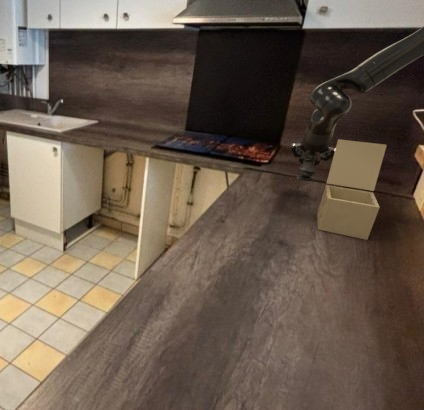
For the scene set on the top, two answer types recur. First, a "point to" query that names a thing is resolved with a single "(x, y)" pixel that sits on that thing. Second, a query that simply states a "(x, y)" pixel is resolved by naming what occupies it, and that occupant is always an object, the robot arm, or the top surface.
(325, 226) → the tan open box
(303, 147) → the robot arm
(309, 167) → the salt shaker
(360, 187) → the lid
